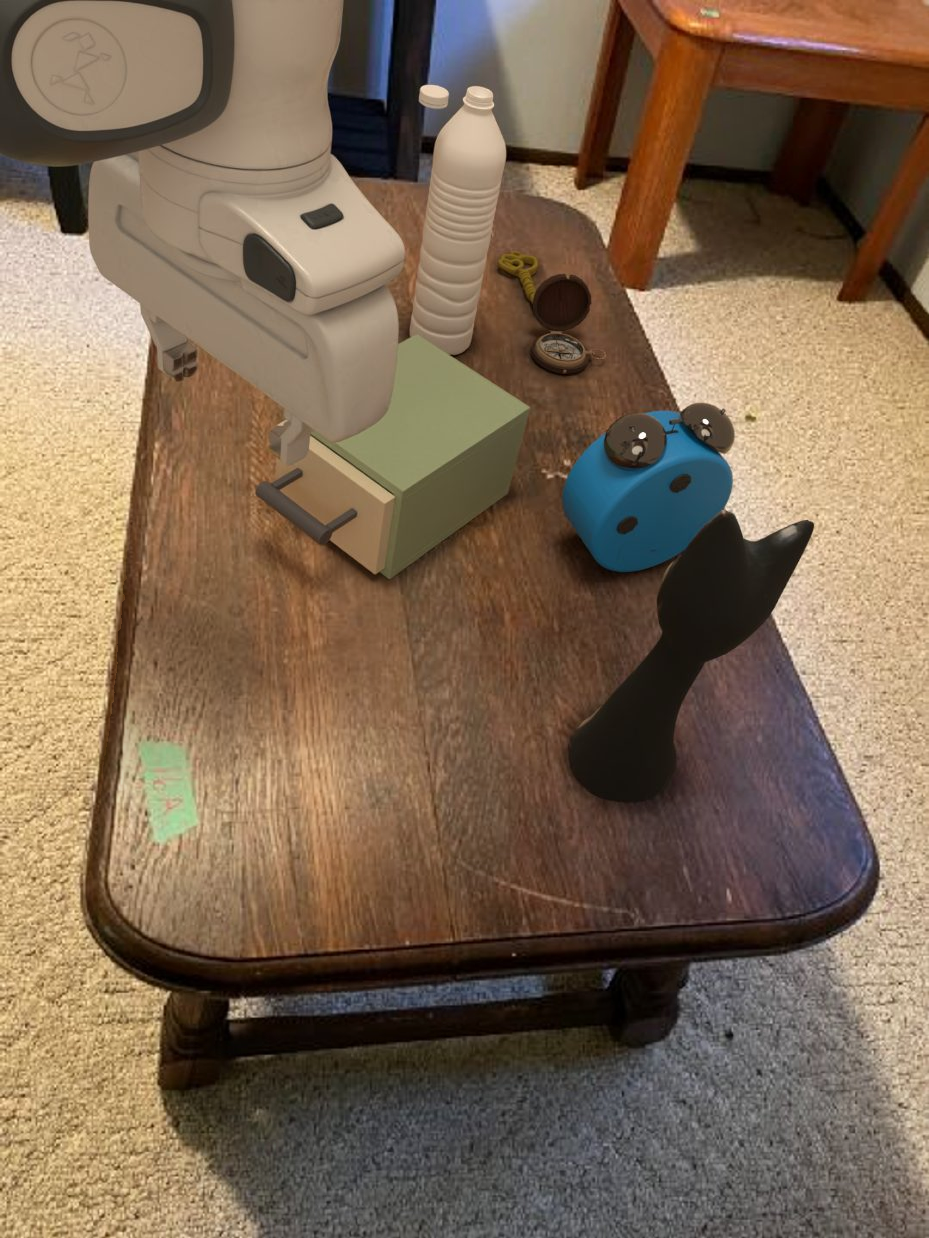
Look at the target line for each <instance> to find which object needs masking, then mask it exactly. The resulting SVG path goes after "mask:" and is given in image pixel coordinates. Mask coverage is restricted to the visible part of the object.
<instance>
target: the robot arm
mask: <svg viewBox="0 0 929 1238" xmlns="http://www.w3.org/2000/svg"><path fill="white" fill-rule="evenodd" d="M343 10H344V0H0V155H2V156H5V157H7V158H9V159H13V160H16V161H18V162H22V163H26V164H31V165H34V166H41V167H42V166H43V167H55V168H57V167H73V166H79V165H86V164H90V163H92V165H91V169H90V172H89V182H88V199H87V200H88V201H87V203H88V206H87V210H88V211H87V213H88V216H87V218H88V223H87V224H88V245H89V250H90V255H91V257H92V259H93V262H94V264H95V266H96V268H97V270H98V272H99V274H100V276H102V277H103V278H104V279H106V280H107V281H109V282H110V283H111V284H113V285H114V286H115V287H117V289H119V290H121V291H122V292H124V293H125V294H126V295H128V296H129V297H130V298H132V299H133V300H135V301H136V302H137V303H139V307H140V309H139V310H140V315H141V317H142V319H143V322H144V324H145V326H146V328H147V330H148V333H149V335H150V337H151V339H152V341H153V344H154V346H155V347H156V358H157V368H158V370H159V371H161V372H163V373H164V374H166V375H167V376H168V377H169V378H171V379H172V380H174V381H175V382H182V381H183V380H184V379H185V378H190V377H192V376H194V375H195V374H196V372H197V370H198V362H197V359H198V348H197V347H196V346H198V347H199V348H201V349H202V350H203V351H204V352H206V353H208V354H209V355H210V356H212V357H213V358H214V359H216V360H217V361H219V362H220V363H221V364H222V365H224V366H225V367H227V368H228V369H229V370H231V371H232V372H234V373H235V374H236V375H237V376H239V377H240V378H242V379H243V380H244V381H246V382H247V383H249V384H250V385H251V386H253V387H254V388H256V389H257V390H258V391H260V392H261V393H263V394H264V395H265V396H267V397H268V398H269V399H271V400H272V401H273V402H275V403H276V404H277V405H279V406H280V407H281V408H282V409H283V408H284V418H285V419H286V420H288V421H286V422H285V423H284V424H283V426H277V425H276V426H275V427H273V428H272V429H270V430H269V431H268V441H269V445H268V452H269V453H271V454H272V455H273V456H274V457H275V458H276V457H277V458H278V459H280V460H281V461H282V462H284V463H285V464H286V465H289V466H291V465H292V464H294V463H296V462H298V461H300V460H301V459H303V458H304V457H305V456H306V455H307V453H308V452H309V443H310V433H312V432H313V431H314V430H315V431H316V432H318V433H319V434H320V435H321V436H323V437H324V438H325V439H327V440H329V441H331V442H334V443H335V442H340V441H343V440H346V439H348V438H350V437H353V436H355V435H357V434H359V433H361V432H363V431H365V430H366V429H368V428H369V427H371V426H372V425H374V424H376V423H377V422H378V421H379V420H381V419H382V418H383V417H384V415H385V414H386V413H387V411H388V408H389V405H390V402H391V397H392V392H393V385H394V378H395V370H396V361H397V351H398V344H399V332H400V329H399V327H400V326H399V325H400V324H399V314H398V307H397V304H396V301H395V299H394V296H393V295H392V292H391V290H390V289H389V287H388V286H387V285H386V284H387V283H389V282H391V281H392V280H394V279H396V278H397V277H399V276H400V275H401V273H402V272H403V268H404V265H405V260H406V259H405V258H406V247H405V244H404V241H403V239H402V238H401V236H400V234H399V233H398V232H397V231H396V229H394V228H393V226H392V225H391V224H390V223H389V222H388V221H387V220H386V219H385V218H384V217H383V216H382V215H381V213H380V212H379V211H378V210H377V209H376V208H375V207H374V205H373V204H372V203H371V201H370V200H368V198H367V197H366V196H365V195H364V194H363V192H362V191H361V190H360V189H359V188H358V186H357V185H356V183H355V181H353V180H352V178H351V177H350V175H349V173H348V172H347V170H346V169H345V167H344V166H343V164H342V163H341V162H340V161H339V160H338V159H337V157H336V156H335V155H334V154H332V153H331V152H332V142H333V121H332V115H331V110H330V106H329V99H328V85H329V77H330V72H331V69H332V65H333V63H334V60H335V57H336V55H337V53H338V50H339V47H340V46H339V45H340V42H341V35H342V25H343V24H342V23H343ZM190 341H191V342H192V343H194V344H195V345H196V346H194V345H193V344H192V343H190Z"/></svg>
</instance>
